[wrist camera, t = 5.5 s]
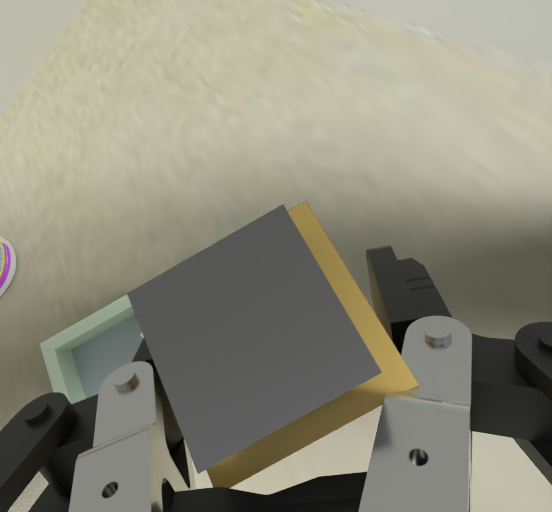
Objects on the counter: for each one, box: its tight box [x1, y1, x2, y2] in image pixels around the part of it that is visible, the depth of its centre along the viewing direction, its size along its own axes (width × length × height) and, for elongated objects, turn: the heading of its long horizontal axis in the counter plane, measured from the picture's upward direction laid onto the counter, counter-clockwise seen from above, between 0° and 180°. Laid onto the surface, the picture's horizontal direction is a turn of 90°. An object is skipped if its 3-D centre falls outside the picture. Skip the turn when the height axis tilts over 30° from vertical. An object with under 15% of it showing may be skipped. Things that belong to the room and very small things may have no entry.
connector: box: [127, 201, 418, 488], centre depth 11 cm, size 4×4×10 cm
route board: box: [40, 246, 210, 404], centre depth 29 cm, size 19×9×3 cm, turn 117°
